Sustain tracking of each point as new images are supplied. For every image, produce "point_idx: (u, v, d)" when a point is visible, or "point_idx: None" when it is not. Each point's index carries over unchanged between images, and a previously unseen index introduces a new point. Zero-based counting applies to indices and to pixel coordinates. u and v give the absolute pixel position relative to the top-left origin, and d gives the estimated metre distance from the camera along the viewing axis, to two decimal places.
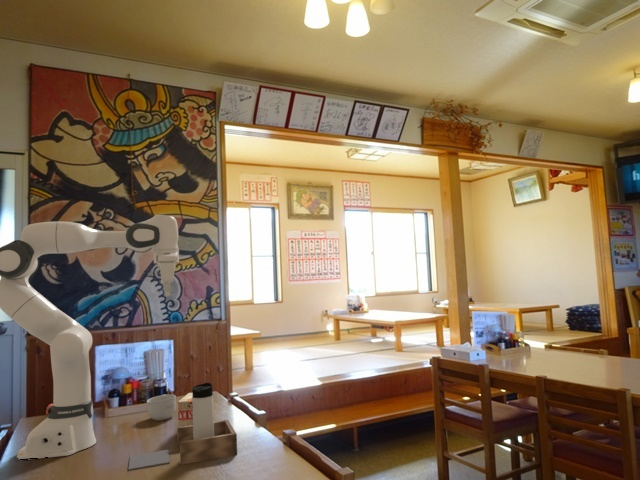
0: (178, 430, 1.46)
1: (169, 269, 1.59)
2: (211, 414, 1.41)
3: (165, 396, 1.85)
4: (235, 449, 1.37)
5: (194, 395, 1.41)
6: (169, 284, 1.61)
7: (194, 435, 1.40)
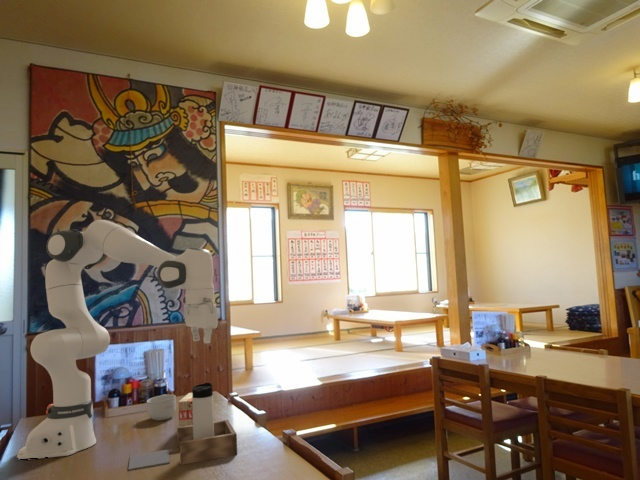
0: (178, 430, 1.46)
1: None
2: (211, 414, 1.41)
3: (165, 396, 1.85)
4: (235, 449, 1.37)
5: (194, 395, 1.41)
6: None
7: (194, 435, 1.40)
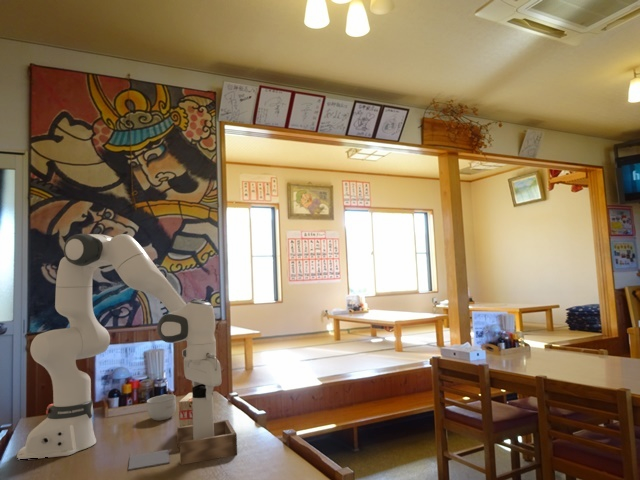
0: (178, 430, 1.46)
1: None
2: (211, 414, 1.41)
3: (165, 396, 1.85)
4: (235, 449, 1.37)
5: (194, 395, 1.41)
6: None
7: (194, 435, 1.40)
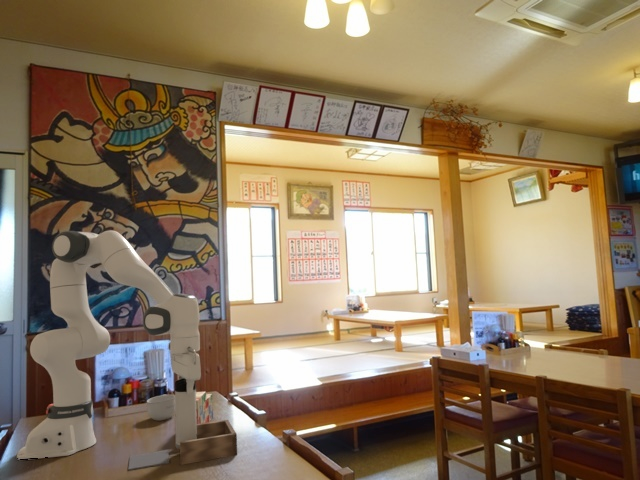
0: None
1: None
2: (193, 408, 1.40)
3: (165, 396, 1.85)
4: (235, 449, 1.37)
5: (176, 389, 1.40)
6: None
7: (176, 429, 1.39)
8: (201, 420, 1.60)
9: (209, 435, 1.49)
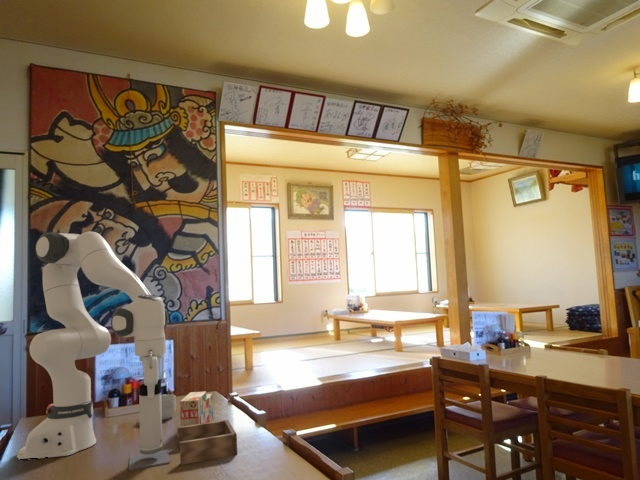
0: (178, 430, 1.46)
1: None
2: (156, 413, 1.35)
3: (165, 396, 1.85)
4: (235, 449, 1.37)
5: None
6: None
7: None
8: (201, 420, 1.61)
9: (209, 435, 1.49)
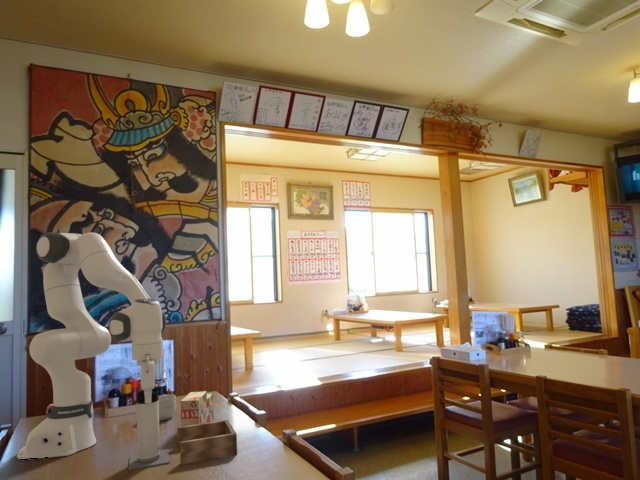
0: (178, 430, 1.46)
1: None
2: (153, 421, 1.35)
3: (165, 396, 1.85)
4: (235, 449, 1.37)
5: (137, 400, 1.36)
6: None
7: (137, 441, 1.35)
8: (202, 420, 1.61)
9: (209, 435, 1.49)
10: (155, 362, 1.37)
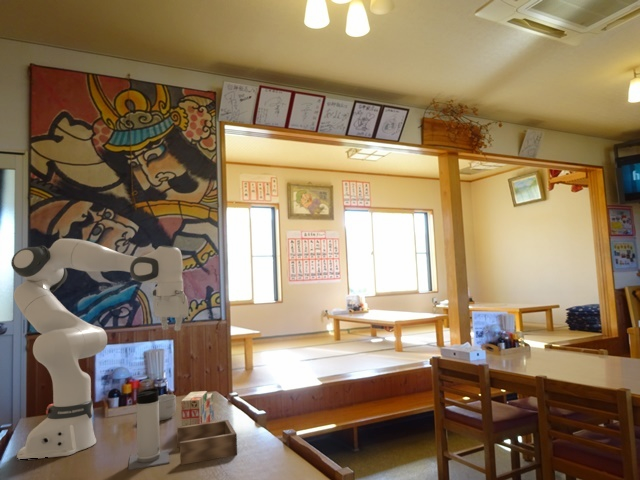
0: (178, 430, 1.46)
1: None
2: (153, 421, 1.35)
3: (165, 396, 1.85)
4: (235, 449, 1.37)
5: (137, 400, 1.36)
6: None
7: (137, 441, 1.35)
8: (202, 419, 1.61)
9: (209, 435, 1.49)
10: None
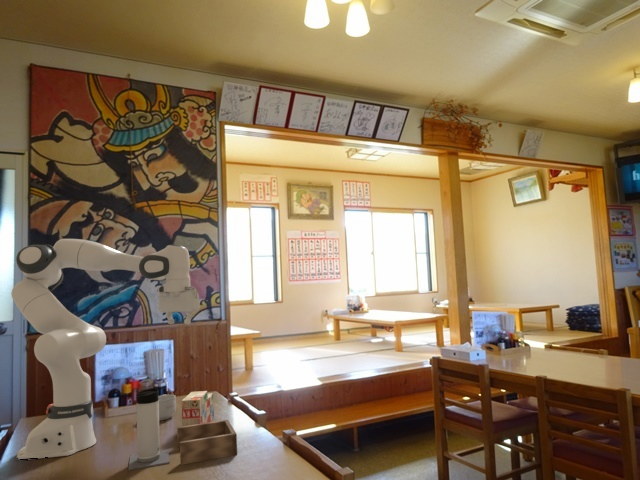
0: (178, 430, 1.46)
1: None
2: (153, 421, 1.35)
3: (165, 396, 1.85)
4: (235, 449, 1.37)
5: (137, 400, 1.36)
6: None
7: (137, 441, 1.35)
8: (203, 419, 1.61)
9: (209, 435, 1.49)
10: None
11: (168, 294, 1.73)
